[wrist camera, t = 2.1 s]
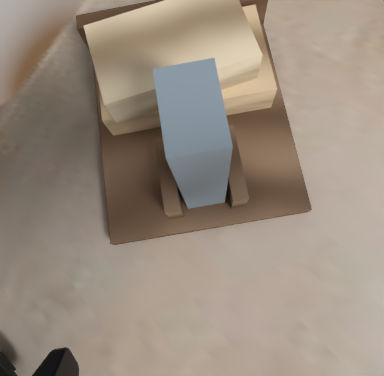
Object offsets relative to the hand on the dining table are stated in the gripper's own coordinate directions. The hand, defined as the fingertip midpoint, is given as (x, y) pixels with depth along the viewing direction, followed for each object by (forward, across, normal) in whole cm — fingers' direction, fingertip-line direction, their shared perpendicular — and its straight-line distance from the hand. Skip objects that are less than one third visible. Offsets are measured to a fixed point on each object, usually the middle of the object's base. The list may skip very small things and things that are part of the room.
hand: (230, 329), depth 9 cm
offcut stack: (+20, 0, -2) cm, 20 cm away
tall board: (+14, 0, +3) cm, 15 cm away
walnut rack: (+19, 0, +1) cm, 19 cm away
